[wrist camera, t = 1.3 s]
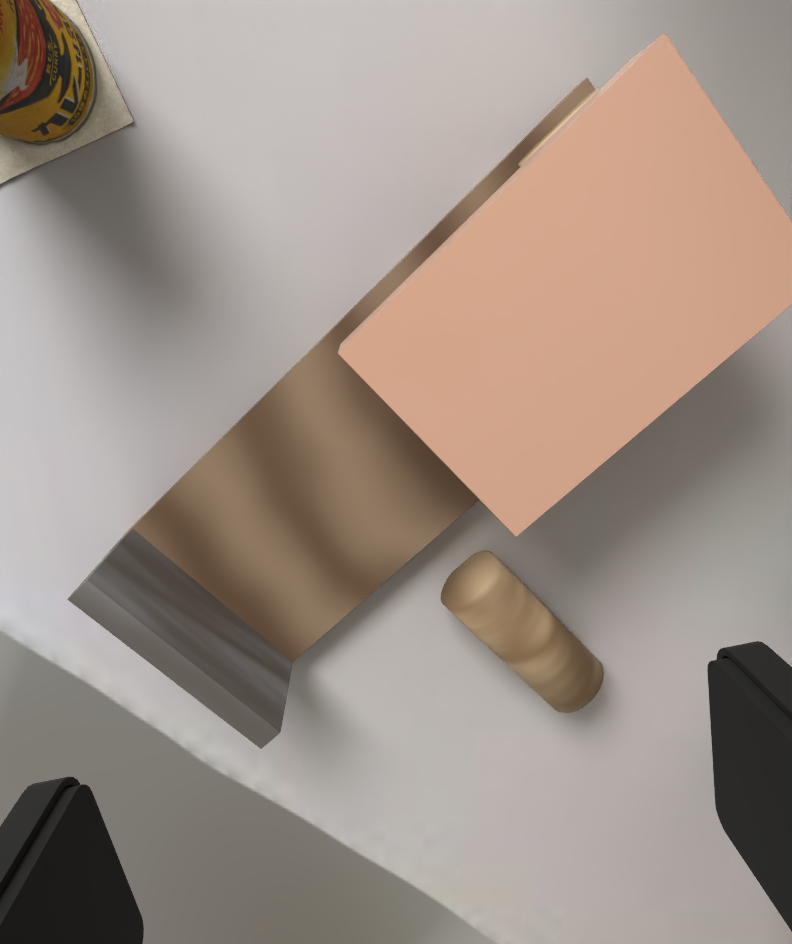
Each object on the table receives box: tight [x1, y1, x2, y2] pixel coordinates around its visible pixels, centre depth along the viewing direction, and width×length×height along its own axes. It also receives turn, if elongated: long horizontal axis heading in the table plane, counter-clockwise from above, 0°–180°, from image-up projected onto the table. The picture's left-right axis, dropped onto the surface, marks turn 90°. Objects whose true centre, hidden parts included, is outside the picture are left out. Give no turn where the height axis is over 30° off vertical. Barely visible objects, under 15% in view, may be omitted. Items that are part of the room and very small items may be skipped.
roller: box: [441, 551, 604, 713], centre depth 38 cm, size 4×10×4 cm, turn 44°
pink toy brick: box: [338, 33, 792, 536], centre depth 29 cm, size 16×11×7 cm
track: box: [68, 78, 596, 748], centre depth 32 cm, size 33×12×8 cm, turn 133°
